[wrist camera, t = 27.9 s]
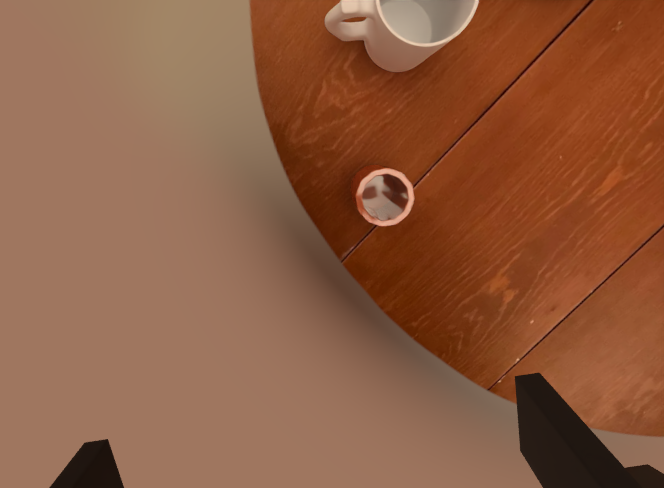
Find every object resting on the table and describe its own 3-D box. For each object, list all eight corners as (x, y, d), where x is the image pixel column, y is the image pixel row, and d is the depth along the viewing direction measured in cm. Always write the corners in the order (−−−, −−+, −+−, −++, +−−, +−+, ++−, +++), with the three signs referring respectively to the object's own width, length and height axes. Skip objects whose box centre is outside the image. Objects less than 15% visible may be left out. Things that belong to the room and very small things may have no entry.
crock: (346, 169, 43) (352, 174, 35) (394, 160, 43) (409, 163, 35) (354, 216, 44) (361, 230, 36) (400, 207, 44) (417, 221, 36)
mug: (433, -8, 40) (479, -74, 28) (436, 72, 41) (481, 41, 29) (321, 3, 40) (319, -58, 28) (327, 82, 41) (329, 56, 29)
